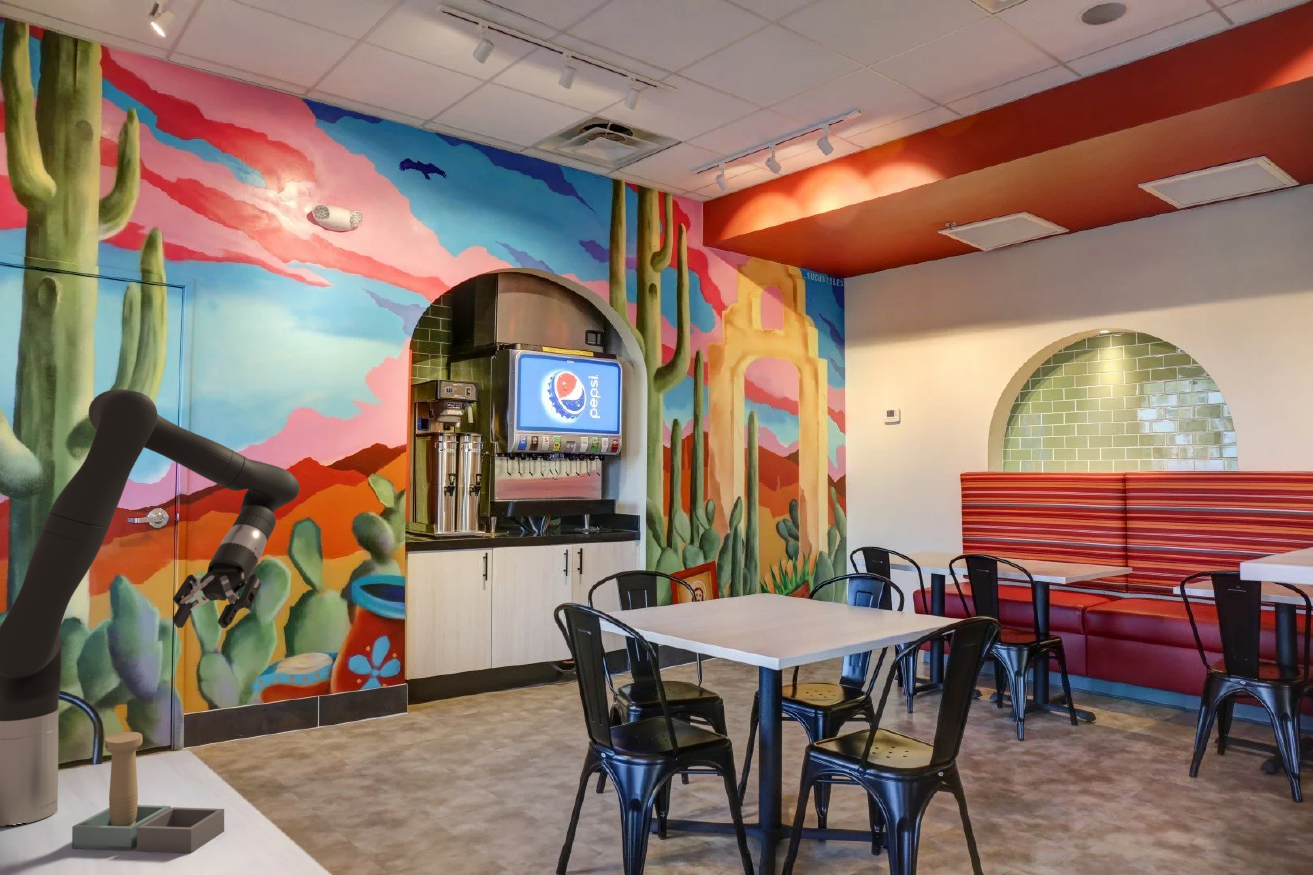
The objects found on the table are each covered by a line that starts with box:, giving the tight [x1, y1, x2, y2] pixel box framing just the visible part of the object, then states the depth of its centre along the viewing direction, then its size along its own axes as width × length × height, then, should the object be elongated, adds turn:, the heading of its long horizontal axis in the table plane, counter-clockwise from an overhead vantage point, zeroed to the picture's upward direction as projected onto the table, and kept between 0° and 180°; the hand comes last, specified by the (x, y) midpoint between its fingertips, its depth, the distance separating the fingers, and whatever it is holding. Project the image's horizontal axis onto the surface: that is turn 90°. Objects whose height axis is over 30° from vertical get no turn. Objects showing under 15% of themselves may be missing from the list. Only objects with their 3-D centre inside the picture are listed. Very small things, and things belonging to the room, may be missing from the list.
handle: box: [104, 731, 143, 827], centre depth 138 cm, size 5×6×15 cm
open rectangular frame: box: [136, 806, 225, 854], centre depth 135 cm, size 9×8×4 cm
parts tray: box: [71, 804, 172, 851], centre depth 137 cm, size 10×9×3 cm
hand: (199, 625), depth 153 cm, fingers open, 8 cm apart
